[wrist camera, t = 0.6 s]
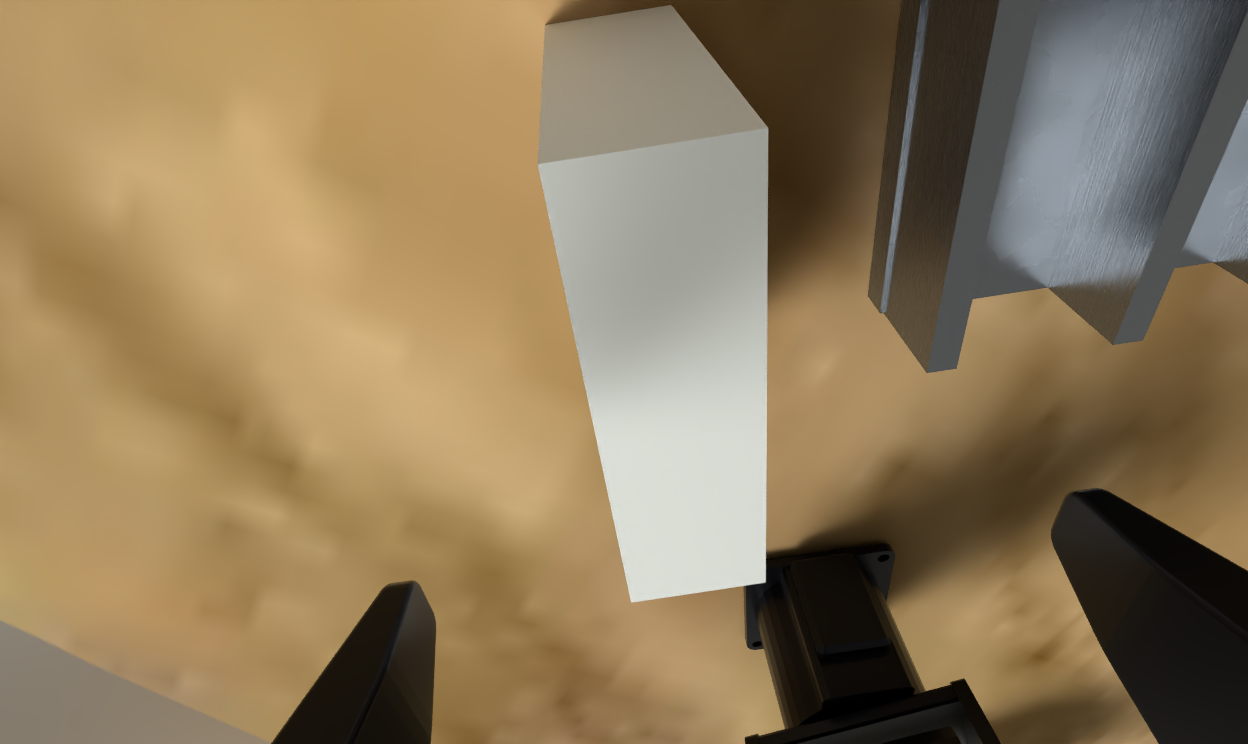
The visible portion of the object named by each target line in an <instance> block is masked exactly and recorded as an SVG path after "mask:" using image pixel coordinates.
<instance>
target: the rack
mask: <svg viewBox="0 0 1248 744" xmlns="http://www.w3.org/2000/svg"><path fill="white" fill-rule="evenodd" d="M1211 262H1213V263H1215V264H1217V265H1218V266H1220V267H1222V268H1223V269H1225V270H1226V271H1228V272H1230V273H1231V274H1233V275H1235V276H1236V277H1238V278H1239V279H1241V280H1243V281H1244V282H1246V283H1247V284H1248V0H902V4H901V13H900V21H899V30H898V39H897V47H896V56H895V65H894V74H893V82H892V91H891V100H890V108H889V117H888V126H887V134H886V143H885V152H884V161H883V169H882V178H881V187H880V195H879V204H878V213H877V221H876V230H875V239H874V248H873V256H872V265H871V274H870V282H869V291H868V297H869V298H870V300H871V301H872V302H873V304H874V305H875V307H876V308H877V309H878V311H879V312H880V313H884V314H885V316H886V317H887V318H888V320H889V321H890V323H891V324H892V325H893V327H894V328H895V329H896V331H897V332H898V334H899V335H900V336H901V338H902V339H903V341H904V342H905V343H906V345H907V346H908V348H909V349H910V350H911V352H912V353H913V355H914V356H915V357H916V359H917V360H918V361H919V363H920V364H921V366H922V367H923V368H924V370H925V371H926V373H930V372H937V371H943V370H950V369H956V368H957V364H958V360H959V355H960V351H961V347H962V342H963V338H964V334H965V329H966V325H967V320H968V316H969V312H970V307H971V303H972V299H976V298H982V297H989V296H995V295H1002V294H1008V293H1015V292H1021V291H1028V290H1035V289H1041V288H1049V289H1050V290H1051V291H1052V292H1053V293H1054V294H1056V295H1057V296H1058V297H1059V298H1060V299H1061V300H1062V301H1064V302H1065V303H1066V304H1067V305H1068V306H1069V307H1070V308H1072V309H1073V310H1074V311H1075V312H1076V313H1077V314H1078V315H1080V316H1081V317H1082V318H1083V319H1084V320H1085V321H1086V322H1088V323H1089V324H1090V325H1091V326H1092V327H1093V328H1094V329H1096V330H1097V331H1098V332H1099V333H1100V334H1101V335H1102V336H1104V337H1105V338H1106V339H1107V340H1108V341H1109V342H1110V343H1111V344H1113V345H1115V344H1122V343H1128V342H1135V341H1141V340H1143V339H1144V337H1145V334H1146V332H1147V330H1148V327H1149V325H1150V323H1151V321H1152V318H1153V316H1154V314H1155V311H1156V309H1157V307H1158V304H1159V302H1160V300H1161V298H1162V295H1163V293H1164V291H1165V288H1166V286H1167V284H1168V281H1169V279H1170V277H1171V275H1172V272H1173V270H1174V268H1178V267H1185V266H1191V265H1198V264H1205V263H1211Z"/></svg>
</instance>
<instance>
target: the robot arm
mask: <svg viewBox="0 0 1248 744" xmlns="http://www.w3.org/2000/svg"><path fill="white" fill-rule="evenodd" d="M1051 539H1052V543H1053V546H1054V549H1055V551H1056V553H1057V555H1058V557H1059V559H1060V561H1061V564H1062V566H1063V568H1064V570H1065V572H1066V574H1067V576H1068V578H1069V581H1070V583H1071V585H1072V587H1073V589H1074V591H1075V593H1076V595H1077V598H1078V600H1079V602H1080V604H1081V606H1082V608H1083V610H1084V612H1085V615H1086V617H1087V619H1088V621H1089V623H1090V625H1091V627H1092V629H1093V631H1094V634H1095V636H1096V637H1097V639H1098V641H1099V643H1100V645H1101V647H1102V649H1103V651H1104V653H1105V655H1106V656H1107V658H1108V660H1109V662H1110V663H1111V665H1112V667H1113V669H1114V670H1115V672H1116V674H1117V675H1118V677H1119V679H1120V680H1121V682H1122V683H1123V685H1124V687H1125V688H1126V690H1127V692H1128V693H1129V695H1130V697H1131V698H1132V700H1133V702H1134V703H1135V705H1136V707H1137V708H1138V710H1139V712H1140V713H1141V715H1142V717H1143V718H1144V720H1145V722H1146V723H1147V725H1148V727H1149V728H1150V730H1151V732H1152V733H1153V735H1154V737H1155V738H1156V740H1157V742H1158V743H1159V744H1248V571H1247V570H1245V569H1244V568H1242V567H1240V566H1238V565H1237V564H1235V563H1233V562H1231V561H1230V560H1228V559H1226V558H1224V557H1223V556H1221V555H1219V554H1217V553H1216V552H1214V551H1212V550H1210V549H1209V548H1207V547H1205V546H1203V545H1202V544H1200V543H1198V542H1196V541H1195V540H1193V539H1191V538H1189V537H1188V536H1186V535H1184V534H1182V533H1181V532H1179V531H1177V530H1175V529H1174V528H1172V527H1170V526H1168V525H1167V524H1165V523H1163V522H1161V521H1160V520H1158V519H1156V518H1154V517H1153V516H1151V515H1149V514H1147V513H1146V512H1144V511H1142V510H1140V509H1139V508H1137V507H1135V506H1133V505H1132V504H1130V503H1128V502H1126V501H1124V500H1123V499H1121V498H1119V497H1117V496H1116V495H1114V494H1112V493H1110V492H1108V491H1106V490H1104V489H1099V488H1092V489H1085V490H1077V491H1072V492H1070V493H1068V494H1067V495H1066V496H1065V498H1064V500H1063V502H1062V505H1061V507H1060V510H1059V512H1058V514H1057V517H1056V519H1055V521H1054V524H1053V526H1052V529H1051ZM894 559H895V554H894V551H893V549H892V547H891V546H890V545H889V544H886V543H881V544H874V545H867V546H861V547H854V548H847V549H840V550H834V551H827V552H820V553H813V554H807V555H800V556H793V557H786V558H780V559H773V560H766V583H759V584H752V585H746V586H744V615H745V639H746V643H747V647H748V648H749V649H752V650H758V649H764V651H765V655H766V659H767V663H768V666H769V670H770V674H771V678H772V682H773V685H774V689H775V693H776V697H777V701H778V704H779V708H780V712H781V716H782V719H783V723H784V727H785V729H784V730H780V731H776V732H772V733H769V734H765V735H761V736H759V735H758V734H755V735H751V736H748V737H745V744H1001V743H1000V741H999V739H998V738H997V736H996V734H995V732H994V731H993V729H992V727H991V725H990V723H989V722H988V720H987V718H986V716H985V714H984V713H983V711H982V709H981V707H980V705H979V704H978V702H977V700H976V698H975V696H974V695H973V693H972V691H971V689H970V688H969V686H968V684H967V682H966V680H965V679H960V680H956V681H952V682H950V685H948V686H944V687H940V688H937V689H933V690H929V691H925V689H924V686H923V684H922V682H921V680H920V677H919V675H918V673H917V671H916V668H915V666H914V664H913V662H912V659H911V657H910V655H909V653H908V650H907V648H906V646H905V644H904V641H903V639H902V637H901V635H900V632H899V630H898V628H897V626H896V623H895V621H894V619H893V617H892V614H891V612H890V610H889V607H888V605H887V603H886V599H887V594H888V589H889V584H890V579H891V574H892V569H893V564H894ZM435 644H436V621H435V616H434V613H433V611H432V609H431V607H430V605H429V603H428V601H427V599H426V597H425V595H424V592H423V590H422V588H421V586H420V585H419V584H418V583H417V582H416V581H404V582H396V583H391V584H388V585H386V586H385V587H384V588H383V589H382V590H381V591H380V593H379V594H378V596H377V597H376V598H375V600H374V601H373V603H372V604H371V605H370V607H369V608H368V610H367V611H366V612H365V614H364V615H363V616H362V618H361V619H360V621H359V622H358V623H357V625H356V626H355V628H354V629H353V630H352V632H351V633H350V635H349V636H348V637H347V639H346V640H345V642H344V643H343V644H342V646H341V647H340V648H339V650H338V651H337V653H336V654H335V655H334V657H333V658H332V660H331V661H330V662H329V664H328V665H327V667H326V668H325V669H324V671H323V672H322V674H321V675H320V676H319V678H318V679H317V680H316V682H315V683H314V685H313V686H312V687H311V689H310V690H309V692H308V693H307V694H306V696H305V697H304V699H303V700H302V701H301V703H300V704H299V706H298V707H297V708H296V710H295V711H294V712H293V714H292V715H291V717H290V718H289V719H288V721H287V722H286V724H285V725H284V726H283V728H282V729H281V731H280V732H279V733H278V735H277V736H276V738H275V739H274V740H273V742H272V743H271V744H431V732H432V714H433V691H434V667H435Z"/></svg>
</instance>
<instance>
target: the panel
mask: <svg viewBox="0 0 1248 744" xmlns="http://www.w3.org/2000/svg"><path fill="white" fill-rule="evenodd" d="M538 168H539V173H540V177H541V182H542V187H543V191H544V196H545V201H546V205H547V210H548V215H549V219H550V224H551V229H552V233H553V238H554V243H555V247H556V252H557V257H558V262H559V266H560V271H561V276H562V280H563V285H564V290H565V294H566V299H567V304H568V308H569V313H570V318H571V322H572V327H573V332H574V336H575V341H576V346H577V351H578V355H579V360H580V365H581V369H582V374H583V379H584V383H585V388H586V393H587V397H588V402H589V407H590V411H591V416H592V421H593V425H594V430H595V435H596V440H597V444H598V449H599V454H600V458H601V463H602V468H603V472H604V477H605V482H606V486H607V491H608V496H609V500H610V505H611V510H612V514H613V519H614V524H615V529H616V533H617V538H618V543H619V547H620V552H621V557H622V561H623V566H624V571H625V575H626V580H627V585H628V589H629V594H630V599H631V602H638V601H645V600H652V599H658V598H665V597H672V596H678V595H685V594H692V593H699V592H705V591H712V590H719V589H726V588H732V587H739V586H746V585H752V584H759V583H766V441H767V262H768V127H767V126H766V125H765V123H764V122H763V121H762V119H761V118H760V117H759V116H758V114H757V113H756V112H755V111H754V109H753V108H752V107H751V105H750V104H749V103H748V102H747V100H746V99H745V98H744V97H743V95H742V94H741V93H740V91H739V90H738V89H737V88H736V86H735V85H734V84H733V83H732V81H731V80H730V79H729V78H728V76H727V75H726V74H725V72H724V71H723V70H722V69H721V67H720V66H719V65H718V64H717V62H716V61H715V60H714V58H713V57H712V56H711V55H710V53H709V52H708V51H707V50H706V48H705V47H704V46H703V44H702V43H701V42H700V41H699V39H698V38H697V37H696V36H695V34H694V33H693V32H692V31H691V29H690V28H689V27H688V25H687V24H686V23H685V22H684V20H683V19H682V18H681V17H680V15H679V14H678V13H677V11H676V10H675V9H674V8H673V6H672V5H667V6H661V7H655V8H649V9H642V10H636V11H630V12H624V13H617V14H611V15H605V16H599V17H592V18H586V19H580V20H574V21H567V22H561V23H555V24H549V25H545V33H544V53H543V72H542V92H541V111H540V130H539V150H538Z"/></svg>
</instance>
